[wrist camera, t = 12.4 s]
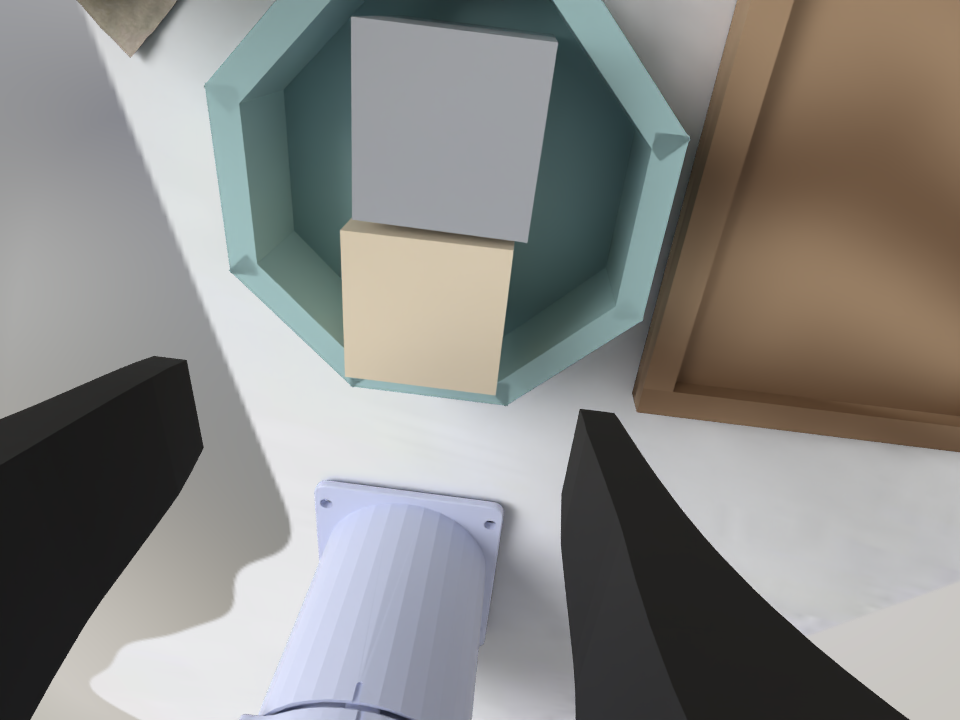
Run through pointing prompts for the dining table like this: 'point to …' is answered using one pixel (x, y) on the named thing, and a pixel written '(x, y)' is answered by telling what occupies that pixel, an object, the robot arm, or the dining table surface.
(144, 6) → the condiment
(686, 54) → the dining table surface
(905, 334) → the tray
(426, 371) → the beige block
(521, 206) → the grey block
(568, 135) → the bowl
